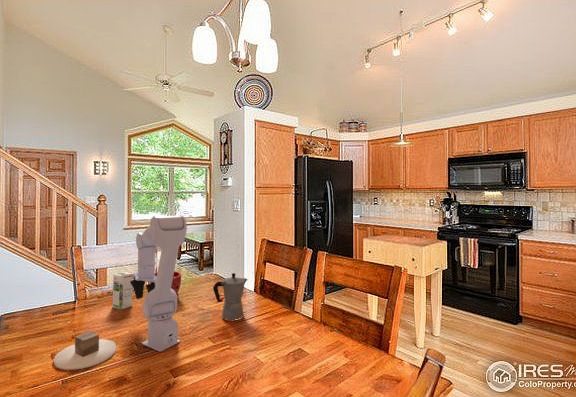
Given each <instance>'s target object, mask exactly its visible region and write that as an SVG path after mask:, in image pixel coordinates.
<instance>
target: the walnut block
mask: <svg viewBox="0 0 576 397" xmlns="http://www.w3.org/2000/svg"><path fill="white" fill-rule="evenodd" d="M99 339H100V334H98V333H97V332H94V331H92V330H89V331H87V332H85V333H84V332H83V333H81V334H78V335H76V336H75V337H74V344H75V353H76V354H78V355H80V356H82V357H84V356H87V355H89V354H92V353H94V352H96V351H99Z"/></svg>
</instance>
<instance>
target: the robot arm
mask: <svg viewBox="0 0 576 397" xmlns="http://www.w3.org/2000/svg"><path fill="white" fill-rule="evenodd" d="M187 226H188V225H187V220H186V217H185V216H184V215H183V214H180V215H166V216H165V215H162V216H156V215H153V216H152V217H151V219H150V222H149V226H148V227H146V229H144V231H143V232H137V233H136V237H135V244H136V248H137V272H134V273H131V274H132V279H133V280H132V281H130V283H131V285H132V286H133V292H134V296H135V298H136V300H140V299H143V296H144V288H145V287H146V290H147V293H146V295H145V297H144V300H143V302H142V315H143V317H144V318H145V319H147V320H148V321H147V339H146V340H144V341H143V342H141V345H142V346H145V347H148V348H151V349H153V350H154V351H158V352H160V353H161V352H163V351H165V350H167V349H168V348H170V347H174V346H175V345H177V344H179V343H180V341H181V340H180V339H179V323H178V321H176V320H175V319H174V318H173V317H174V313H176V311H177V309H178V298H177V294H176V292H175V291H174V290H173V289H172V288H171V285H172V280H173V275H174V271H176V270H175V269H176V265H177V259H178V258H177V257H178V253H179V249H180V246H182V245H183V244H185V239H186V236H187V230H188V227H187ZM157 248H159V249H160V250H161V252H160V257H159V263H158V267H157V272H158V273H157V272H156V273H157V276H155V275H154V273H155V264H156V262H155V260H156V259H155V256H156V254H155V253H157V252H156V251H157ZM146 283H149V284H146ZM145 284H146V285H145Z"/></svg>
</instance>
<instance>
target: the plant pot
mask: <svg viewBox="0 0 576 397" xmlns="http://www.w3.org/2000/svg"><path fill="white" fill-rule="evenodd" d="M157 273H158V271H157V272H154V275H155V276H157ZM181 284H182V273H181V272H179V271H176V270H174V275H173V280H172V285H171V288H172V289H173V290H174V291H175V292H176V294H177V299H178V298H179V297H180V295H179V293H178V292H179V290H180V289H181Z"/></svg>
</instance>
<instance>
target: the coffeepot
mask: <svg viewBox="0 0 576 397" xmlns="http://www.w3.org/2000/svg"><path fill="white" fill-rule="evenodd" d="M247 281H248V278H244V277H236V273H234V272H233V273H231V277H227V278H224V279H222V280H221V281H217V282H215V283H214V285H213V287H212V288H213V292H214V295H215V298H216V302H217V303H222V302H223V306H222V310H221V311H222V312H221V319H222V320H223V319H227V320H235V319H239V318H241V317H242V316H244V315H245V314H244V309H243V302H242V297H243V295H244V289H245V284H246V282H247ZM219 287H222V288H223V297H224V301H223V299H222V298H221V299H220V297H221V296H220V293H219V289H218V288H219ZM244 317H245V316H244Z"/></svg>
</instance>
